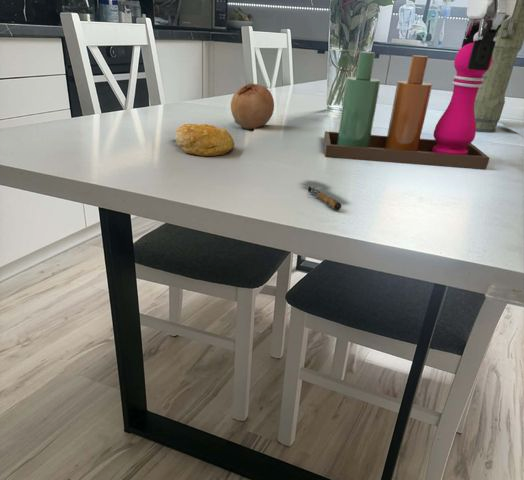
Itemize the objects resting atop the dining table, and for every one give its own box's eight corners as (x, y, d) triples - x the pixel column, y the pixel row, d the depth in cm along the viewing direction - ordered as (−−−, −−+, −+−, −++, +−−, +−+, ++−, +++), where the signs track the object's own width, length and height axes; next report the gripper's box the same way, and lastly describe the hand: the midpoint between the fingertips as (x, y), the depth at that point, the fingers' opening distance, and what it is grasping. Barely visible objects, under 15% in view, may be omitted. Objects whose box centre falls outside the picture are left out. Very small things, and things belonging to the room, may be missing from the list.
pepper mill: (471, 165, 87) (509, 33, 76) (430, 161, 88) (461, 30, 76) (464, 156, 93) (498, 32, 82) (426, 152, 94) (454, 29, 82)
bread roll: (245, 154, 87) (246, 126, 84) (188, 159, 82) (187, 129, 79) (220, 142, 93) (220, 115, 91) (166, 146, 88) (165, 118, 86)
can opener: (341, 211, 64) (342, 202, 63) (325, 211, 63) (326, 203, 63) (317, 190, 71) (318, 182, 70) (302, 191, 70) (303, 183, 70)
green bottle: (366, 148, 93) (382, 52, 84) (369, 156, 89) (387, 54, 79) (335, 146, 94) (348, 50, 85) (337, 153, 89) (351, 52, 80)
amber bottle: (413, 152, 93) (434, 56, 84) (418, 160, 88) (442, 58, 79) (382, 150, 93) (400, 53, 84) (385, 157, 88) (405, 56, 79)
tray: (466, 156, 96) (470, 142, 94) (485, 173, 85) (489, 157, 84) (323, 145, 97) (324, 131, 95) (324, 160, 86) (326, 145, 85)
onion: (247, 146, 106) (240, 103, 97) (227, 125, 110) (218, 82, 102) (284, 127, 107) (279, 84, 99) (263, 108, 112) (257, 64, 103)
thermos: (488, 125, 128) (539, -45, 107) (502, 134, 118) (561, -51, 98) (454, 122, 128) (499, -47, 108) (465, 131, 118) (516, -53, 98)
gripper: (558, -80, 64) (511, 74, 75) (514, -62, 79) (479, 65, 89) (502, -83, 65) (462, 71, 75) (467, -65, 79) (438, 62, 89)
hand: (471, 66), depth 82 cm, fingers closed on pepper mill, 6 cm apart
